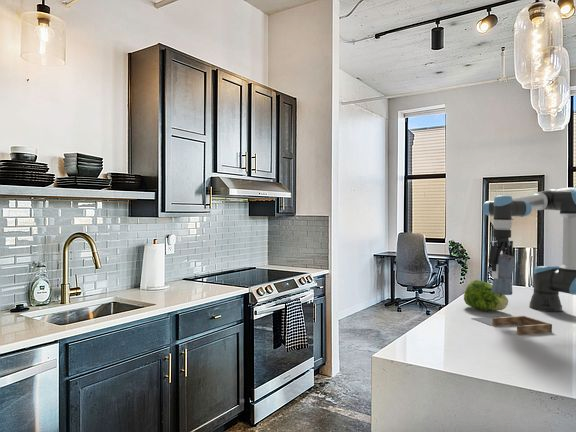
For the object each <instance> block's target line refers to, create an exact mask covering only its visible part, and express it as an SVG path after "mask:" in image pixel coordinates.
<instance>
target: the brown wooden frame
mask: <svg viewBox="0 0 576 432" xmlns="http://www.w3.org/2000/svg"><path fill="white" fill-rule="evenodd" d="M513 325H515V326H516V335H518V336H523V335H525V336H526V335H534V334H547V333H553V324H552V323H549V322H546V321H544V320H543V321H542V320H540V319H536V318H532V317H531V316H529V317H528V316H525V315H515V316H502V317H501V316H498V317H497V318H493V322H492V325H491V326H492V327H503V326H504V327H505V326H513Z"/></svg>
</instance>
